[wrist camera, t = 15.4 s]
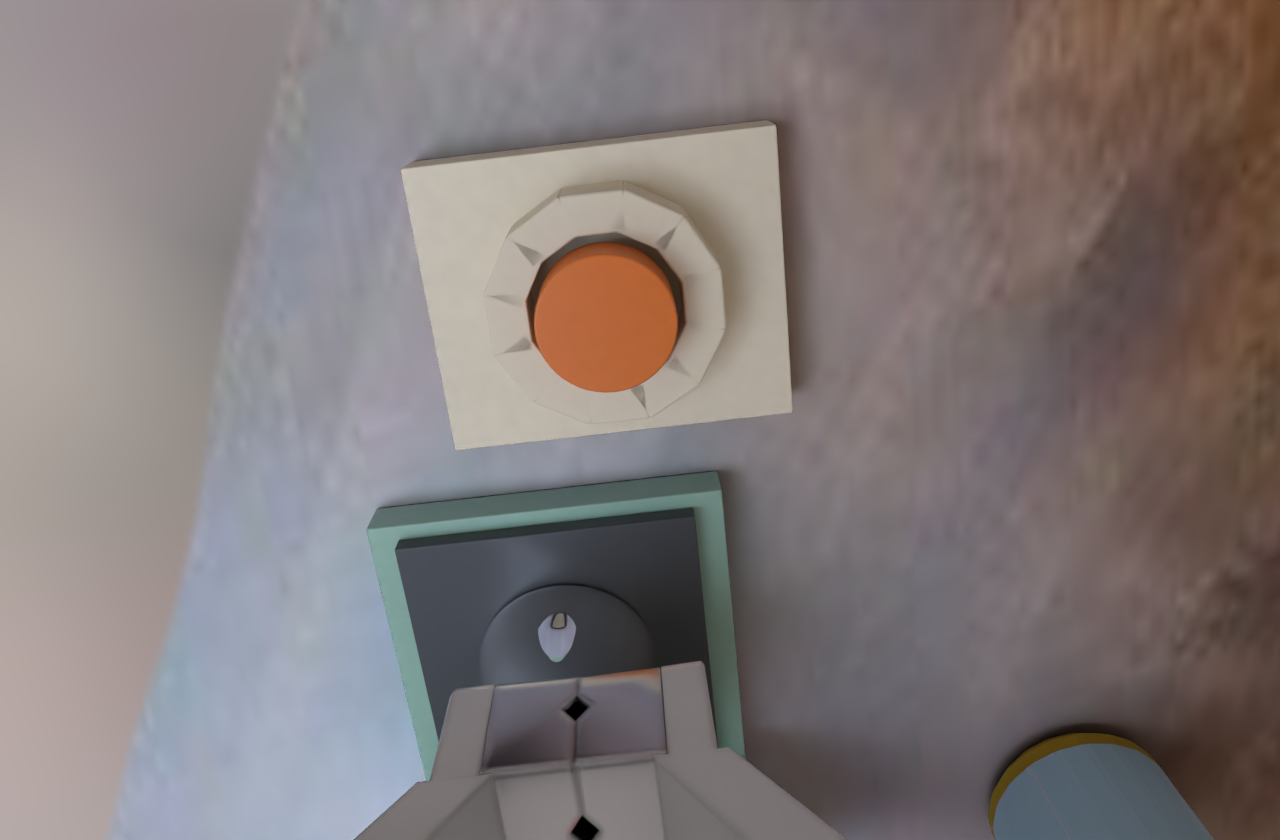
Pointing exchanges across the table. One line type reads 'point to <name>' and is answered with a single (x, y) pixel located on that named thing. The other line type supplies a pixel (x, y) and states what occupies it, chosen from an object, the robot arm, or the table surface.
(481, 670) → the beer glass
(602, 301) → the button
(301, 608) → the table surface
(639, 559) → the mint green tower
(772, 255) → the control pad
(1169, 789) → the bottle
